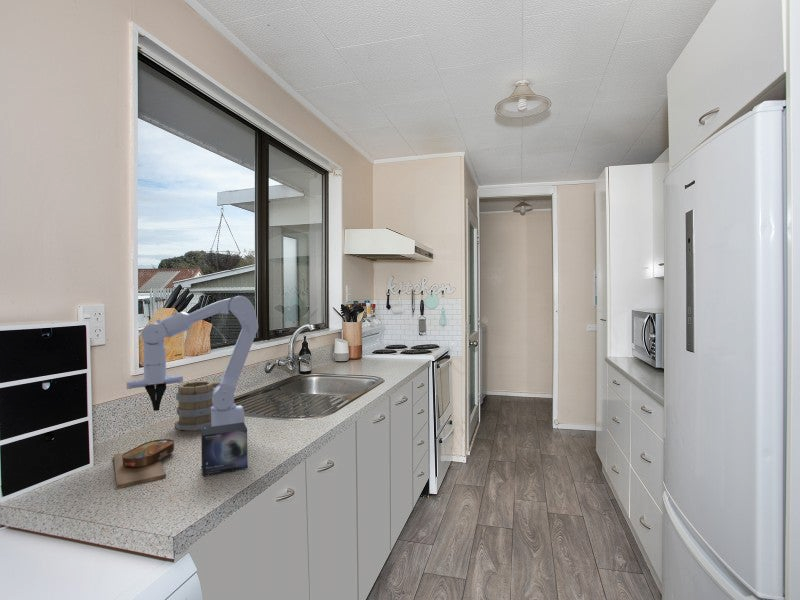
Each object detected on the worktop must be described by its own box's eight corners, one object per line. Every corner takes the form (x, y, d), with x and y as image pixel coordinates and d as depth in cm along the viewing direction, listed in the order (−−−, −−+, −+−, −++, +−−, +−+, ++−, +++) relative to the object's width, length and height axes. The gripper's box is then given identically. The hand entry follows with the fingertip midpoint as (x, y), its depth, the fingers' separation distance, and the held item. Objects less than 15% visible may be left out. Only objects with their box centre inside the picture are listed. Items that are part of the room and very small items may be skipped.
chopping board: (155, 449, 128) (154, 446, 128) (165, 477, 108) (165, 474, 108) (113, 457, 122) (113, 454, 122) (117, 488, 103) (117, 484, 103)
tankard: (182, 433, 143) (181, 386, 142) (171, 425, 152) (170, 381, 152) (243, 420, 156) (242, 377, 156) (230, 413, 165) (229, 373, 165)
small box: (203, 478, 108) (201, 434, 108) (201, 468, 114) (200, 427, 113) (248, 469, 113) (247, 427, 112) (244, 460, 118) (243, 421, 118)
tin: (145, 458, 111) (113, 455, 112) (144, 471, 111) (113, 468, 112) (180, 439, 126) (153, 436, 127) (180, 450, 126) (152, 447, 127)
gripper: (179, 360, 139) (181, 403, 139) (125, 365, 131) (126, 411, 131) (183, 362, 133) (184, 408, 133) (126, 368, 125) (128, 416, 125)
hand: (156, 410), depth 132 cm, fingers closed
